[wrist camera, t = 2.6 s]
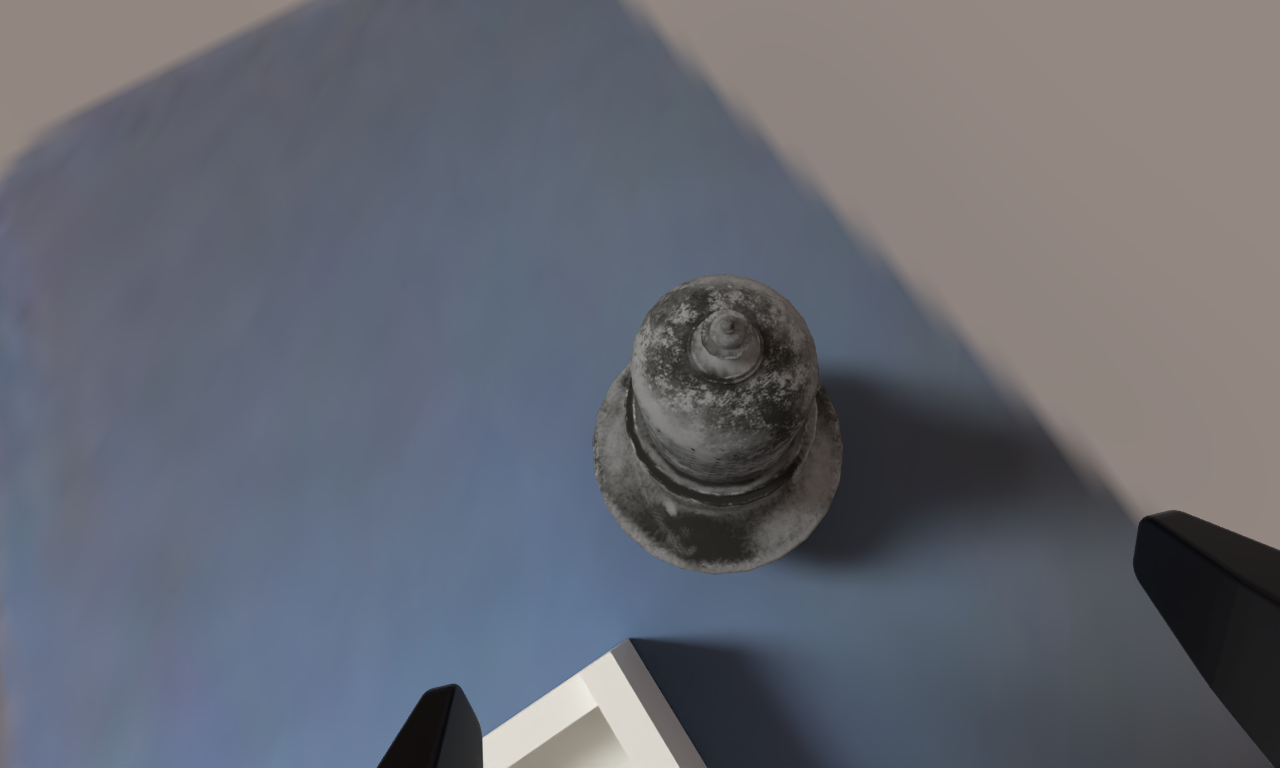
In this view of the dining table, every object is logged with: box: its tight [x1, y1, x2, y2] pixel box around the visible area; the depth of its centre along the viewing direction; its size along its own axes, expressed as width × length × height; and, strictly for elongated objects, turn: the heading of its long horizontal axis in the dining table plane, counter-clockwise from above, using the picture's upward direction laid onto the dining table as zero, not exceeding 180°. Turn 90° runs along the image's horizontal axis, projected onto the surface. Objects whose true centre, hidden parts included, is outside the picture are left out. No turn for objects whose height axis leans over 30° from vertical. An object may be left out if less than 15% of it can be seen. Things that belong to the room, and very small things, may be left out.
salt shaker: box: [593, 274, 843, 574], centre depth 15 cm, size 6×6×12 cm
